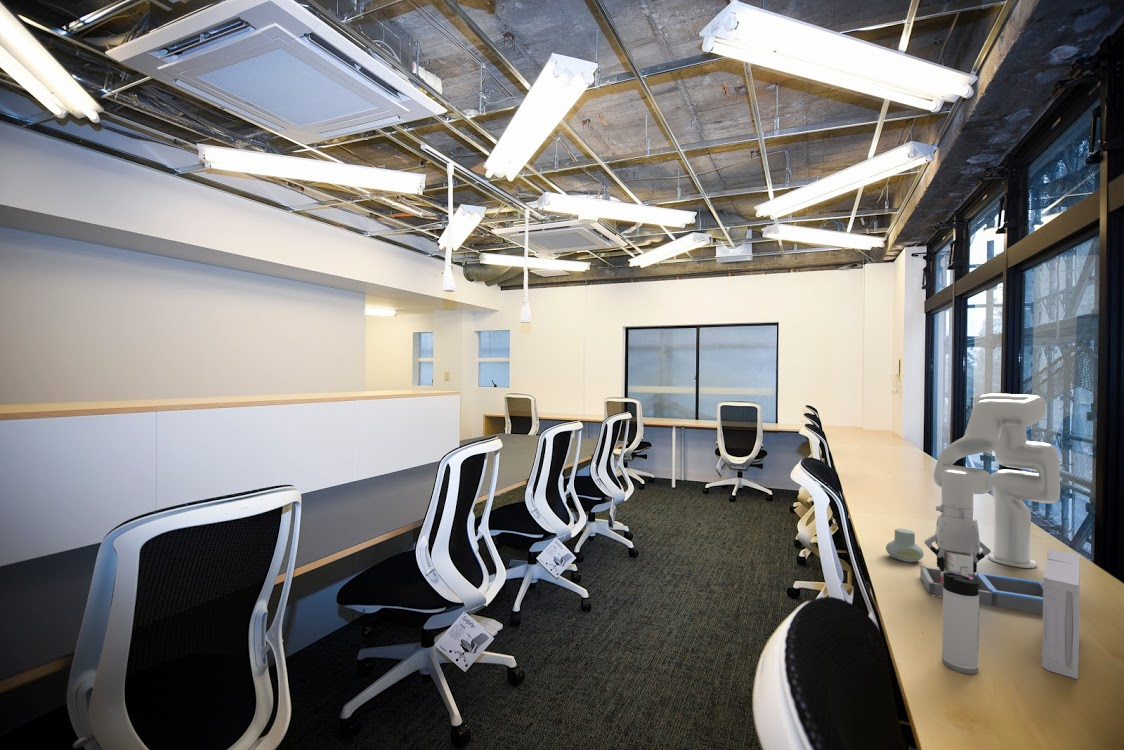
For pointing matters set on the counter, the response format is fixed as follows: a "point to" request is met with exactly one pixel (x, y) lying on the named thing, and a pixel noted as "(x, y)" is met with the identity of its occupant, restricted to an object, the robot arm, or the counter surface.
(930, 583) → the organiser
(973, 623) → the travel mug
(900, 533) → the air freshener
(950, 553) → the ink cartridge box
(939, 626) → the counter surface
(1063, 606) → the game console
